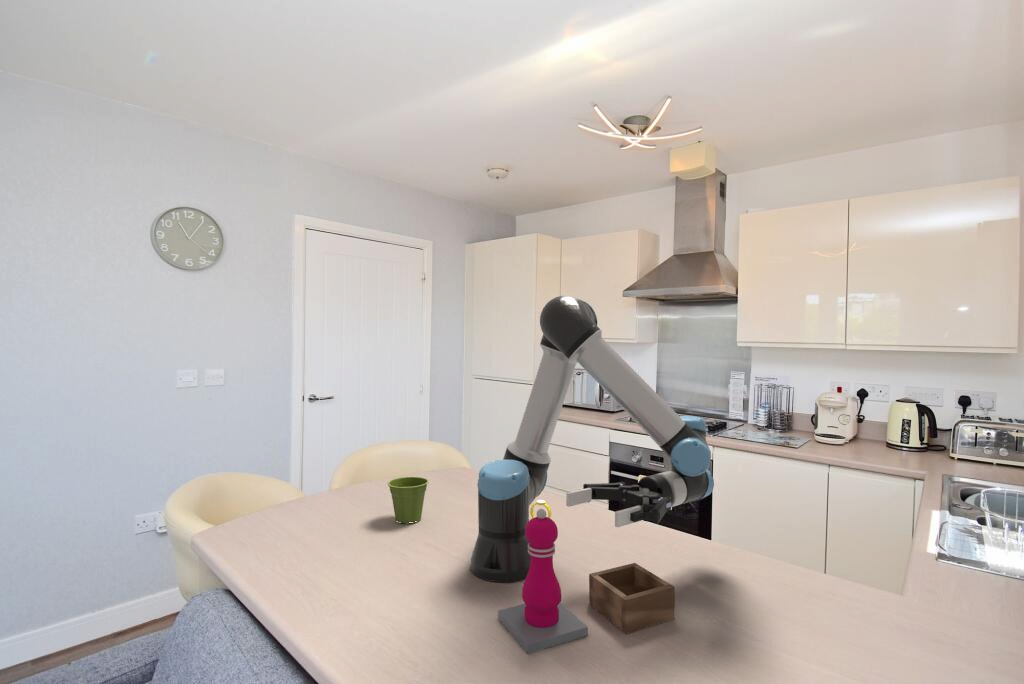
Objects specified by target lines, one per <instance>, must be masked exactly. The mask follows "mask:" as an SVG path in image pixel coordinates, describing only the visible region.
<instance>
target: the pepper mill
mask: <svg viewBox="0 0 1024 684" xmlns="http://www.w3.org/2000/svg"><path fill="white" fill-rule="evenodd" d="M525 536H526V539H527V540H528V541H529V544H528V553H529V554H530V559H531V560H530V568H529V572H528V574H527V577H526V578H524V582H523V583H522V584H523V585H522V588H521V589H522V590H521V598H522V602H523V604H526V606H525V620H526V622H527V623H529V624H530V625H532V626H535V627H541V628H544V627H550V626H553V625H555V624H556V623H557V622H558V620H559V609H558V607H557V606H558V604H559V603H561V602H562V588H561V585H560V582H559V580H558V577H557V576H556V572H555V569H554V562H553V557H554V555H555V554H556V544H555V542H556V540H557V539H558V536H559V531H558V527H557V524H556V522H555V521H554V520H553V519H551V517H550V518H548V516H547V512H546V510H545V509H543V508H539V509H538V510H537V511H536V516H535V517H534V518H532V517H531V518H530V519H529V522H528V523H527V525H526V528H525Z"/></svg>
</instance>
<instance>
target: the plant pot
mask: <svg viewBox="0 0 1024 684" xmlns="http://www.w3.org/2000/svg"><path fill="white" fill-rule="evenodd" d="M429 483H430V480H429V479H428V478H425V477H421V476H404V477H396V478H393V479H390V480H389V481H388V482H387V483H386V484H387V486H388V487H389V491H390V494H391V500H392V506H393V511H394V519H395V522H396V521H398V522H402V523H401V524H406V523H409V522H415V521H418V520H419V521H420V520H421V519H422V517H423V515H422V514H423V508H424V502H425V495H426V491H427V486H428V484H429ZM419 521H418V522H419ZM398 522H397V523H398Z"/></svg>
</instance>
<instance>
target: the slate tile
mask: <svg viewBox="0 0 1024 684" xmlns="http://www.w3.org/2000/svg"><path fill="white" fill-rule="evenodd" d="M525 606H526V604H525V603H522V604H518V605H514V606H510V607H505V608H502V609H498V610H497V612H498V613H497V615H498V617H497V619H498V620H499V621H500V622H501V623H502V625H503V626H504V627H505V628H506V629H507V631H509V634H511V636H512V637H513V638H514V639H515V640H516V641H517V643H518V644H519V645H520V647H522V649H523V650H524V651H525V652H526V653H527V654H528V655H529V654H531V653H534V652H538V651H541V650H546V649H548V648H552V647H555V646H557V645H560V644H564V643H567V642H570V641H574V640H577V639H581V638H583V637H586V636H589V633H588V632H589V627H588V625H586V624H585V623H584V622H583V621H582V620H581V619H580V618H579V617H578V616H576V615H575V614H574V613H573V612H572V611H571V610H570V609H569V608H568V607H566V606H565V605H564V604H563V603H562V602H560V603H559V604H558V606H557V607H558V609H559V620H558V622H557V623H556V624H555V625H553V626H550V627H544V628H541V627H535V626H532V625H530V624H529V623H527V622H526V620H525Z"/></svg>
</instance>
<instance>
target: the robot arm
mask: <svg viewBox="0 0 1024 684" xmlns="http://www.w3.org/2000/svg"><path fill="white" fill-rule="evenodd" d="M539 325H540V330H541V332H542V336H541V340H540V343H539V346H540V348H541V349H542V351H543V353H542V357H541V360H540V363H539V366H538V369H537V372H536V375H535V379H534V381H533V385H532V388H531V391H530V395H529V396H528V401H527V403H526V406H525V410H524V413H523V416H522V419H521V423H520V425H519V428H518V431H517V434H516V438H515V440H514V441H512V442H510V443H508V444H507V446H506V450H505V451H504V456H503V458H502V459H498V460H495V461H490V462H488V463H485V464H484V465H483V466H482V467H481V468H480V470H479V472H478V480H477V491H478V492H477V496H478V497H477V498H478V499H477V505H478V507H477V509H478V511H477V512H478V513H477V515H478V519H477V521H478V522H477V523H478V533H477V537H476V542H475V544H474V548H473V550H472V553H471V557H470V570H471V572H472V573H473V575H475V576H477V577H478V578H480V579H483V580H486V581H490V582H495V583H511V582H517V581H522V580H525V579H526V577H527V574H528V572H529V568H530V560H531V559H530V554H529V553H528V544H529V541H528V540H527V539H526V536H525V528H526V525H527V523H528V522H529V521H530V505H531V504H532V503H533V502H534V501H535V500H536V498H538V497H539V496H540V495H541V493H542V492H543V491H544V490H545V488H546V484H547V481H548V470H549V467H550V463H551V461H552V459H551V457H550V454H549V453H548V451H549V448H550V444H551V442H552V438H553V435H554V432H555V429H556V426H557V423H558V420H559V417H560V414H561V412H562V408H563V405H564V402H565V400H566V399H565V398H566V395H567V393H568V389H569V388H570V387H569V386H570V383H571V381H572V378H573V376H574V375H573V374H574V372H575V369H576V365H577V364H579V365H580V366H581V367H582V368H583V370H584V371H586V373H588V374H589V375H590V376H591V378H592V379H593V380H594V381H596V383H597V384H598V385H599V386H600V387H601V388H602V389H603V390H604V391H605V392H606V393H607V394H608V395H609V396H610V397H611V398H612V400H614V401H615V403H617V404H618V405H619V407H621V408H622V410H623V411H624V412H625V413H626V414H627V415H628V416H629V417H630V418H632V420H633V421H634V422H635V423H636V424H637V425H638V426H639V428H641V430H643V431H644V432H645V433H646V435H648V436H649V437H650V438H651V440H652V441H653V442H654V443H655V444H656V445H657V446H658V447H659V448H660V449H661V451H662V452H664V453H665V455H666V456H667V457H668V458H669V459H670V470H669V471H667V470H666V471H663V472H659V473H655V474H652V475H651V474H650V475H646V476H643V477H641V478H640V479H639V481H638V483H636V484H632V485H626V482H624V481H619V482H611V483H610V482H609V483H607V482H606V483H605V482H604V483H603V482H602V483H601V482H600V483H583V485H582V486H583V488H582V489H577V490H573V491H568V492H566V494H565V497H566V503H565V505H566V507H573V506H577V505H580V504H586V503H590V502H592V500H600V501H601V500H603V501H618V502H619V503H621V504H631V505H633V506H632V507H628V508H625V509H620V510H616V511H615V512H614V527H616V528H621V527H624V526H629V525H632V524H633V523H637V522H642V521H643V522H649V521H652V524H659V523H660V522H661V520H662V519H663V517H664V516H665V514H666V513H667V512H669V511H670V512H671V511H672V507H673V508H674V507H676V506H679V505H684V504H687V503H692V502H697V501H701V500H703V499H704V498H706V497H708V496H710V495H711V494H712V492H713V491H714V487H715V480H714V477H713V475H712V473H711V471H710V470H709V468H710V466H711V461H712V453H711V452H712V451H711V449H710V447H709V446H708V442H707V440H706V438H707V426H706V420H705V419H704V418H703V417H698V416H692V415H678V413H677V412H676V411H675V410H673V409H672V407H671V406H670V405H669V404H668V403H667V402H666V401H665V400H664V399H663V398H662V397H661V396H660V395H659V394H658V393H657V392H656V391H655V390H654V389H653V388H652V387H651V386H650V385H649V384H648V383H647V382H646V381H645V380H644V379H643V378H642V377H641V376H640V374H638V373H637V372H636V371H635V370H634V368H632V367H631V366H630V364H629V363H628V362H627V361H625V359H623V357H622V356H621V355H620V354H619V353H618V352H617V351H616V350H615V349H614V348H613V347H612V346H611V345H610V344H609V343H608V342H607V341H606V340H605V339H604V338H603V336H602V329H600V328H599V327H598V317H597V315H596V311H595V310H594V309H593V307H592V305H590V304H589V303H588V302H586V301H584V300H582V299H580V298H576V297H575V296H570V295H559V296H555V297H554V298H551V300H549V301H547V302H546V304H545V305H544V307H543V308H542V310H541V312H540V316H539ZM623 495H624V498H623ZM634 505H635V506H634Z"/></svg>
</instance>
